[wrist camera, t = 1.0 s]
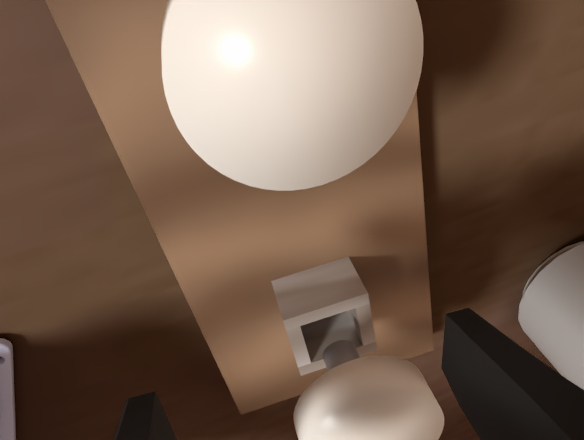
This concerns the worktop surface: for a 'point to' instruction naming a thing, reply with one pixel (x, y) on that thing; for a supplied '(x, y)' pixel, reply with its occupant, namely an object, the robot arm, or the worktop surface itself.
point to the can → (558, 311)
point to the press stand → (261, 224)
